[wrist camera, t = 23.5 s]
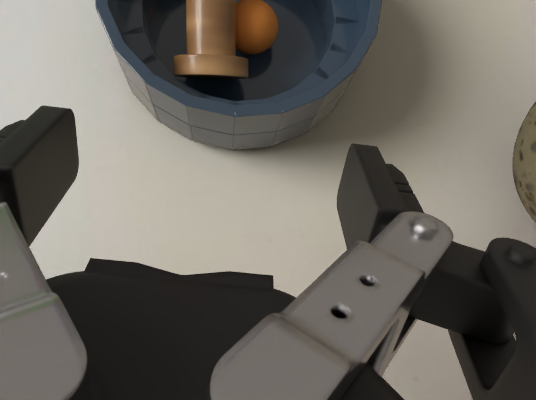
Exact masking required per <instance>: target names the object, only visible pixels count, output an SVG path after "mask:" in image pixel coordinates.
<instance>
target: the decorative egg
mask: <svg viewBox="0 0 536 400" xmlns="http://www.w3.org/2000/svg"><path fill="white" fill-rule="evenodd" d="M513 177H514V182H515V186H516V189H517V192H518V195H519V197H520V200H521V202H522V204H523V205H524V207H525V209H526V210H527V212H528V213H529V215H530V216H531V217H532V219H533V220H534V221H535V222H536V102H535V103H534V105H533V106H532V107H531V109H530V110H529V112H528V114H527V116H526V117H525V119H524V121H523V123H522V125H521V127H520V130H519V133H518V136H517V139H516V142H515V146H514V153H513Z"/></svg>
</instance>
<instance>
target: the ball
mask: <svg viewBox="0 0 536 400" xmlns="http://www.w3.org/2000/svg"><path fill="white" fill-rule="evenodd" d="M277 33H278V20H277V17H276V14H275V12H274V11H273V9H272V8H271V7H270V6H269V5H268V4H267V3H266V2H264V1H262V0H241V1H239V2H237V3H236V49H237V50H239V51H240V52H242V53H245V54H259V53H262V52H264V51H266V50H267V49H268V48H269V47H270V46H271V45H272V44H273V43H274V41H275V39H276V37H277Z"/></svg>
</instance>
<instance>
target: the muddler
mask: <svg viewBox="0 0 536 400" xmlns="http://www.w3.org/2000/svg"><path fill="white" fill-rule="evenodd" d="M186 37H187V54H185V55H177V56H174V57H173V67H174V76H176V77H184V78H200V79H246V78H248V69H249V60H248V59H247V58H244V57H238V56H236V0H186Z"/></svg>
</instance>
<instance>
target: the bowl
mask: <svg viewBox="0 0 536 400" xmlns="http://www.w3.org/2000/svg"><path fill="white" fill-rule="evenodd" d="M239 1H241V0H236V3H237V2H239ZM262 1H264V2H266V3H267V4H268V5H269V6H270V7H271V8H272V9H273V11H274V12H275V14H276V17H277V20H278V33H277V37H276V39H275V41H274V43H273V44H272V45H271V46H270V47H269V48H268V49H267V50H266V51H264V52H262V53H259V54H245V53H242V52H240V51H239V50H237V49H236V56H238V57H244V58H247V59H248V60H249V69H248V78H246V79H200V78H184V77H176V76H174V67H173V57H174V56H177V55H185V54H187V37H186V0H95V2H96V10H97V12H98V15H99V17H100V19H101V22H102V24H103V26H104V29H105V31H106V33H107V35H108V38H109V40H110V42H111V45H112V47H113V49H114V52H115V54H116V56H117V59H118V61H119V63H120V65H121V68H122V70H123V72H124V75H125V77H126V79H127V82H128V84H129V86H130V88H131V91H132V92H133V94H134V95H135V96H136V98H137V99H138V100H139V101H140V102H141V103H142V104H143V105H144V106H145V107H146V108H147V110H148V111H149V112H150V113H151V114H152V115H153V116H154V117H155V118H156V119H157V120H158V121H159V122H161V123H162V124H164V125H166V126H168V127H169V128H171V129H173V130H175V131H176V132H178V133H180V134H182V135H183V136H185V137H187V138H189V139H190V140H194V141H195V142H200V143H205V144H209V145H214V146H218V147H223V148H227V149H233V150H236V149H248V148H260V147H271V146H274V145H276V144H279V143H281V142H284V141H286V140H289V139H291V138H293V137H296V136H298V135H301V134H303V133H305V132H307V131H308V130H310V129H311V128H312V127H313V126H314V125H315V124H317V123H318V122H319V121H320V120H321V119H322V118H323V117H325V116H326V115H327V114H328V113H329V112H330V111H331V110H333V108H334V107H335V105H336V104H337V102H338V100H339V99H340V97H341V95H342V94H343V92H344V90H345V88H346V87H347V85H348V83H349V82H350V80H351V78H352V77H353V75H354V73H355V72H356V70H357V68H358V66H359V65H360V63H361V61H362V59H363V58H364V56H365V54H366V52H367V50H368V49H369V47H370V45H371V43H372V42H373V40H374V38H375V36H376V34H377V29H378V23H379V16H380V10H381V4H382V0H262Z"/></svg>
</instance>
